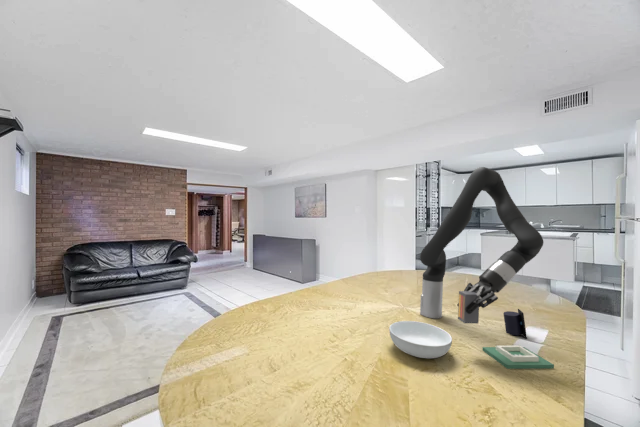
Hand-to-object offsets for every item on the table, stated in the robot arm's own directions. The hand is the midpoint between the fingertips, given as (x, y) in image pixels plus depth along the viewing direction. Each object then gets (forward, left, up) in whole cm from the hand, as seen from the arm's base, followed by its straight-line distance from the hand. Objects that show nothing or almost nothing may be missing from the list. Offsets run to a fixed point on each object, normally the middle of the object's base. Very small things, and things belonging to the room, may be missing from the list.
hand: (463, 309), depth 98 cm
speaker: (+15, +33, -16) cm, 39 cm away
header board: (+16, +8, -15) cm, 23 cm away
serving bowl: (-12, -8, -16) cm, 22 cm away
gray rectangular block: (+1, +1, -4) cm, 5 cm away
